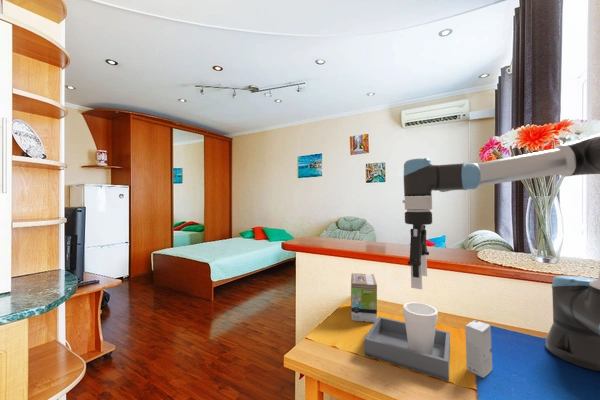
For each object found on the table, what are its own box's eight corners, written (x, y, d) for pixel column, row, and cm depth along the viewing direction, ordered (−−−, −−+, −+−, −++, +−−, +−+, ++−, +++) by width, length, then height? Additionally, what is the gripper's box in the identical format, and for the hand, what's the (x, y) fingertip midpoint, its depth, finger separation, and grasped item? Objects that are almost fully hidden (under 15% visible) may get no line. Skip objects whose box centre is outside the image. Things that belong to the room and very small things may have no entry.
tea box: (378, 323, 97) (377, 284, 97) (351, 321, 99) (350, 283, 99) (374, 306, 111) (374, 273, 111) (351, 305, 113) (350, 272, 113)
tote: (450, 348, 80) (449, 332, 80) (448, 381, 65) (448, 361, 65) (379, 330, 91) (378, 316, 91) (364, 355, 77) (364, 338, 77)
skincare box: (484, 378, 66) (483, 332, 66) (465, 369, 70) (464, 325, 70) (493, 369, 70) (492, 325, 70) (474, 361, 73) (473, 319, 73)
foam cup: (406, 339, 83) (405, 300, 83) (438, 348, 78) (438, 305, 78) (401, 355, 75) (400, 311, 75) (437, 365, 70) (436, 318, 70)
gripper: (410, 209, 89) (412, 269, 89) (396, 212, 68) (398, 292, 68) (435, 209, 85) (436, 272, 85) (427, 213, 64) (430, 297, 64)
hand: (419, 281), depth 76 cm, fingers open, 13 cm apart
